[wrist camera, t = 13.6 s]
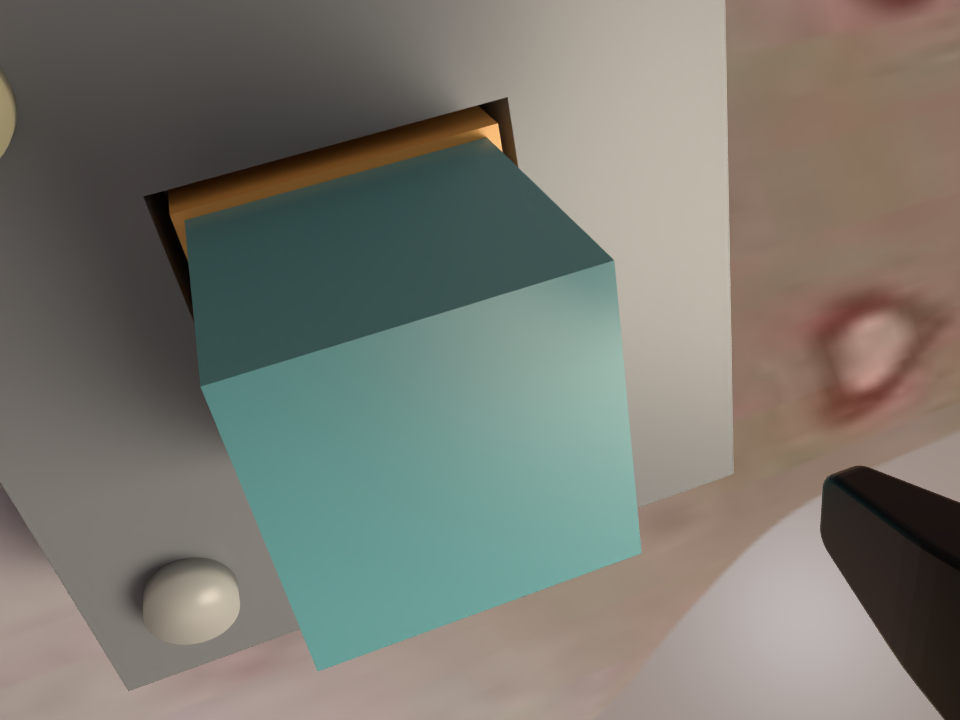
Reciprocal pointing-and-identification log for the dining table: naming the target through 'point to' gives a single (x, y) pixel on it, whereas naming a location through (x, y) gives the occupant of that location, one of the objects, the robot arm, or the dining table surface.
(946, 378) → the dining table surface
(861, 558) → the robot arm
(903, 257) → the dining table surface
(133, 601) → the breaker panel
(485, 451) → the teal cube
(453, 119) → the breaker button
